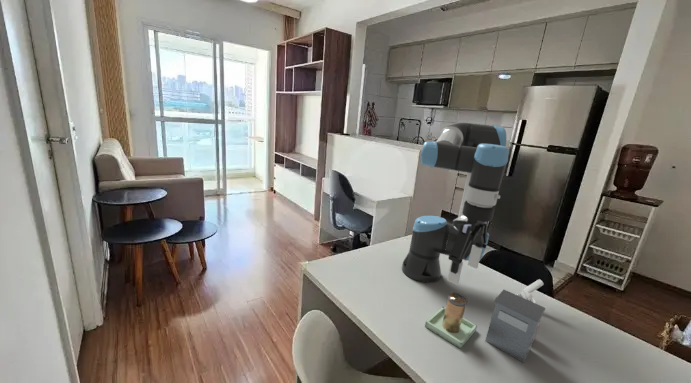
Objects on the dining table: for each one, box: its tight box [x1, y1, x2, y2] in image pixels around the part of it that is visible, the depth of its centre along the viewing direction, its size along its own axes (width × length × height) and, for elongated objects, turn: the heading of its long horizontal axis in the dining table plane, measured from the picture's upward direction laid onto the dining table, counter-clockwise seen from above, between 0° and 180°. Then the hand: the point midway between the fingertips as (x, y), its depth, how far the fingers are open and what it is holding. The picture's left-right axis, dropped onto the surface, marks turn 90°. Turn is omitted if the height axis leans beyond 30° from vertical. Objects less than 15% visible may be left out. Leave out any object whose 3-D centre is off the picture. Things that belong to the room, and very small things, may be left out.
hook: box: [515, 278, 545, 304], centre depth 104 cm, size 8×12×7 cm
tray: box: [424, 306, 478, 350], centre depth 88 cm, size 11×11×2 cm
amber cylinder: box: [442, 292, 468, 333], centre depth 86 cm, size 5×5×10 cm
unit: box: [484, 289, 546, 364], centre depth 82 cm, size 11×8×14 cm
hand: (463, 274), depth 83 cm, fingers open, 13 cm apart
